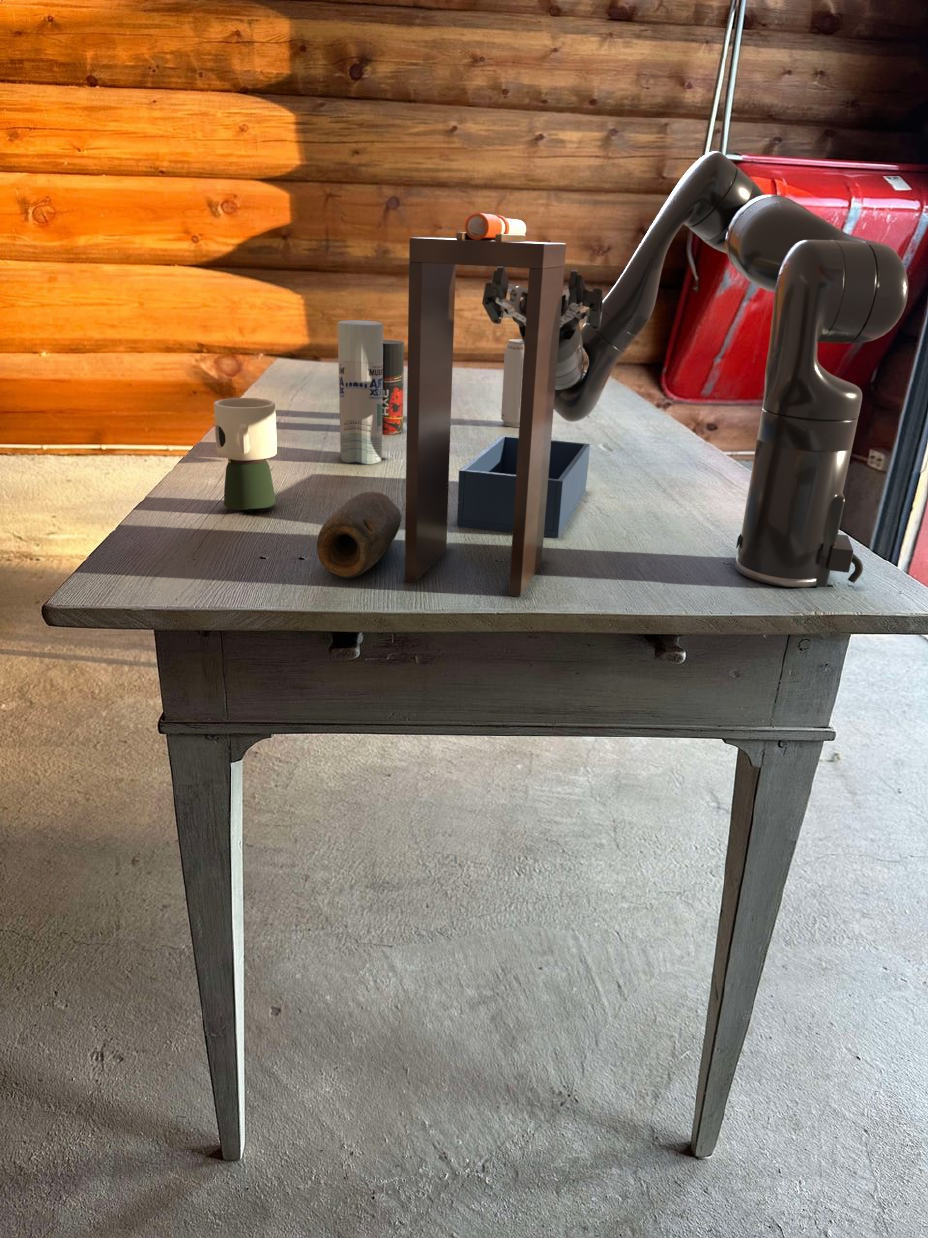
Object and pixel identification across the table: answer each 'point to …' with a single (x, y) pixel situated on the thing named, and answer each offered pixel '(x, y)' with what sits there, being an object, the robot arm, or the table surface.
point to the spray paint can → (360, 390)
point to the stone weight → (358, 534)
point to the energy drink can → (512, 382)
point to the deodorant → (392, 387)
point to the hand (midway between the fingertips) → (535, 275)
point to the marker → (492, 226)
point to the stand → (434, 391)
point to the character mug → (246, 450)
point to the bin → (494, 481)
